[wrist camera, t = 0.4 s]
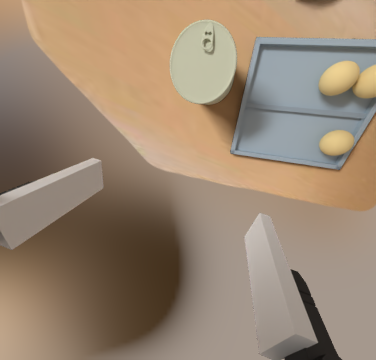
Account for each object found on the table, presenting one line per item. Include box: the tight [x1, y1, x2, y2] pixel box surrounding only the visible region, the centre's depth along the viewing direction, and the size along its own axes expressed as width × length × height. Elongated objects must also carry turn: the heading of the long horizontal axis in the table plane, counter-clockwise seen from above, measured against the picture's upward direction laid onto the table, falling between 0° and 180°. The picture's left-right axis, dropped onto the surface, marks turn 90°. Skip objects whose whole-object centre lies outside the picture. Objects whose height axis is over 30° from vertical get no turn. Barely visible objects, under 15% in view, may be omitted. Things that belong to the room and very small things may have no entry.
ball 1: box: [318, 61, 360, 96], centre depth 23 cm, size 5×5×5 cm
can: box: [170, 20, 237, 105], centre depth 25 cm, size 9×9×12 cm
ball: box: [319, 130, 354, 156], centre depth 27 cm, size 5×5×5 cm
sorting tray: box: [230, 37, 376, 170], centre depth 28 cm, size 20×22×2 cm
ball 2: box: [352, 65, 376, 98], centre depth 23 cm, size 5×5×5 cm
